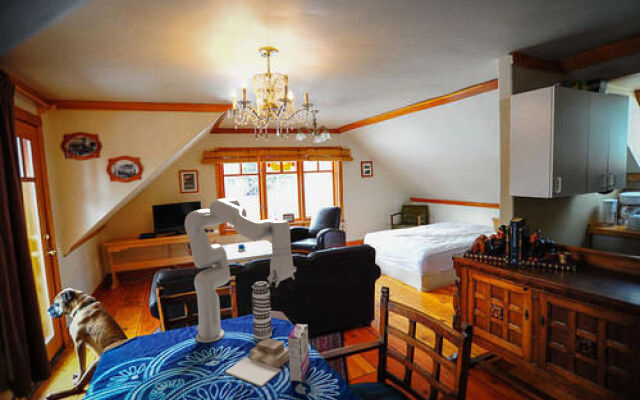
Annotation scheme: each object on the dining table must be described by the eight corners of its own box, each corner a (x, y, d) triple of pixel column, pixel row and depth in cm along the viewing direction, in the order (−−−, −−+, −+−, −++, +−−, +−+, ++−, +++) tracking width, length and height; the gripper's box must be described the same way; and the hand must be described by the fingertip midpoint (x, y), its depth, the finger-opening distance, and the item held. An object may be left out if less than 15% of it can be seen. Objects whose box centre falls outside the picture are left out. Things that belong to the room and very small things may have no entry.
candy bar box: (297, 364, 130) (295, 323, 129) (309, 365, 129) (308, 324, 128) (289, 381, 119) (287, 336, 118) (302, 382, 118) (300, 337, 117)
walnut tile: (257, 349, 134) (257, 343, 134) (267, 343, 139) (266, 337, 139) (274, 355, 129) (274, 349, 129) (284, 348, 135) (283, 342, 134)
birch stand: (250, 359, 134) (250, 350, 134) (263, 350, 141) (263, 341, 141) (277, 368, 127) (277, 358, 127) (290, 359, 134) (289, 349, 134)
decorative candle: (271, 339, 151) (269, 285, 150) (251, 339, 151) (248, 286, 150) (274, 330, 160) (272, 279, 159) (255, 330, 160) (253, 280, 159)
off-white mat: (225, 372, 126) (225, 371, 126) (246, 358, 135) (245, 357, 135) (261, 386, 116) (261, 385, 116) (280, 371, 126) (280, 369, 126)
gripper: (287, 246, 143) (289, 285, 144) (259, 254, 129) (262, 297, 130) (301, 247, 139) (303, 287, 140) (274, 256, 125) (276, 301, 125)
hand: (283, 292), depth 135 cm, fingers open, 9 cm apart
